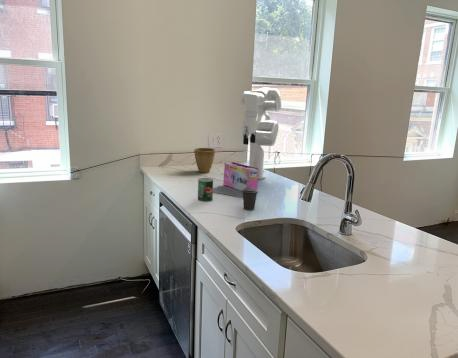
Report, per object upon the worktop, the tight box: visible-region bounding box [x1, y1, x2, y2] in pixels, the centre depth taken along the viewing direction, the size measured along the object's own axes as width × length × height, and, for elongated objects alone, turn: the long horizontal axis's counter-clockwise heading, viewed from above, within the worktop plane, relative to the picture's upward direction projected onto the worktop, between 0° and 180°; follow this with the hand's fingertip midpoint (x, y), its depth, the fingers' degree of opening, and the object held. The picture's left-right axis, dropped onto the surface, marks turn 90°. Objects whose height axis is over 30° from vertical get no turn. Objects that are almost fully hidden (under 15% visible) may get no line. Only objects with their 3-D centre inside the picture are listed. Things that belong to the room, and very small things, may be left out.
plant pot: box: [193, 147, 216, 174], centre depth 268 cm, size 15×15×16 cm
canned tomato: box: [197, 177, 214, 203], centre depth 201 cm, size 8×8×11 cm
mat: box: [213, 185, 243, 199], centre depth 219 cm, size 14×24×1 cm, turn 60°
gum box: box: [223, 161, 259, 191], centre depth 228 cm, size 24×8×14 cm, turn 39°
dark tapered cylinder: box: [242, 188, 259, 211], centre depth 189 cm, size 8×8×10 cm
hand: (249, 143), depth 231 cm, fingers open, 8 cm apart
